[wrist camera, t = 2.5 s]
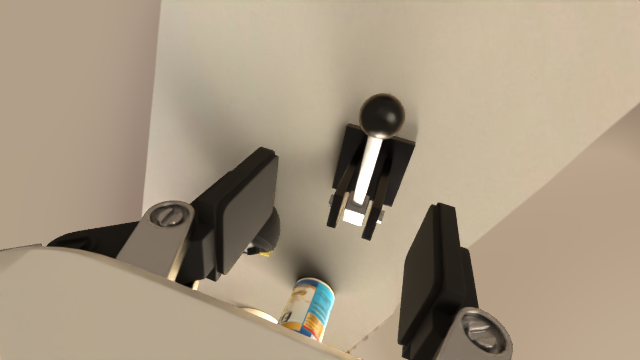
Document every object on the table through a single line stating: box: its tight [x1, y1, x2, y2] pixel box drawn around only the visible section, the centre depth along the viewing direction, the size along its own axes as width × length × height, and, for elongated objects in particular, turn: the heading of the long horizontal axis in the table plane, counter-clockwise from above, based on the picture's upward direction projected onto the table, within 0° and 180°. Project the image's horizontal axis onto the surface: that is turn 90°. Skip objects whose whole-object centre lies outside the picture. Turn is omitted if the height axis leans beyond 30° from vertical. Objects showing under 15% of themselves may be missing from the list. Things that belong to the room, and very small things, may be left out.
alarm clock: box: [243, 206, 280, 257], centre depth 48 cm, size 12×15×15 cm
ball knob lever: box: [342, 93, 405, 226], centre depth 27 cm, size 17×3×3 cm, turn 169°
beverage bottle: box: [277, 278, 334, 342], centre depth 51 cm, size 8×8×20 cm
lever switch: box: [327, 123, 415, 241], centre depth 37 cm, size 10×9×13 cm
